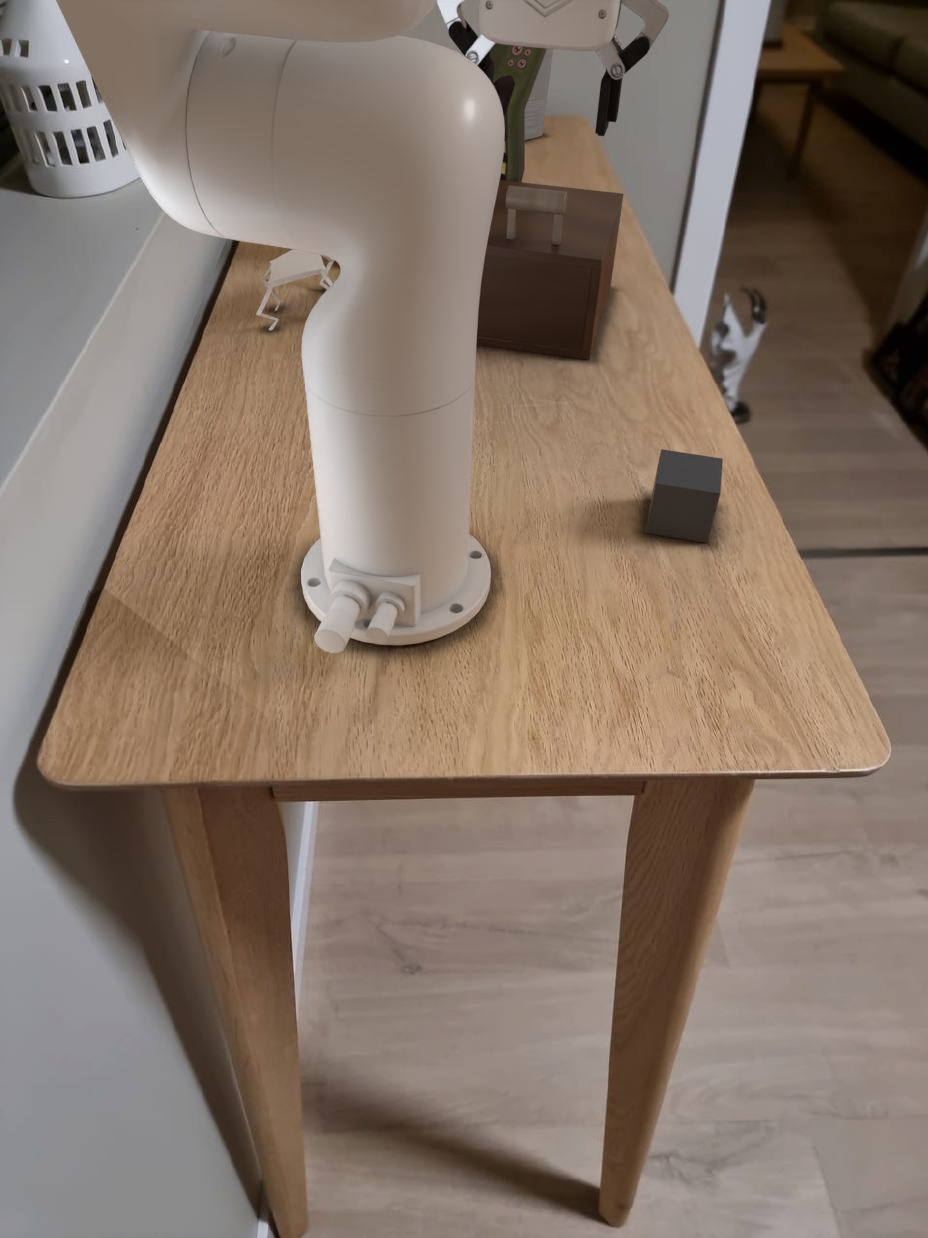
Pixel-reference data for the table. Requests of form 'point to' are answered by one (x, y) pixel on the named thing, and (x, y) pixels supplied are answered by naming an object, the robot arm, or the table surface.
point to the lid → (552, 223)
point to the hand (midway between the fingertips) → (542, 124)
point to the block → (685, 496)
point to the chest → (544, 304)
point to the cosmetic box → (538, 99)
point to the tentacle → (514, 100)
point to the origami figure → (292, 274)
